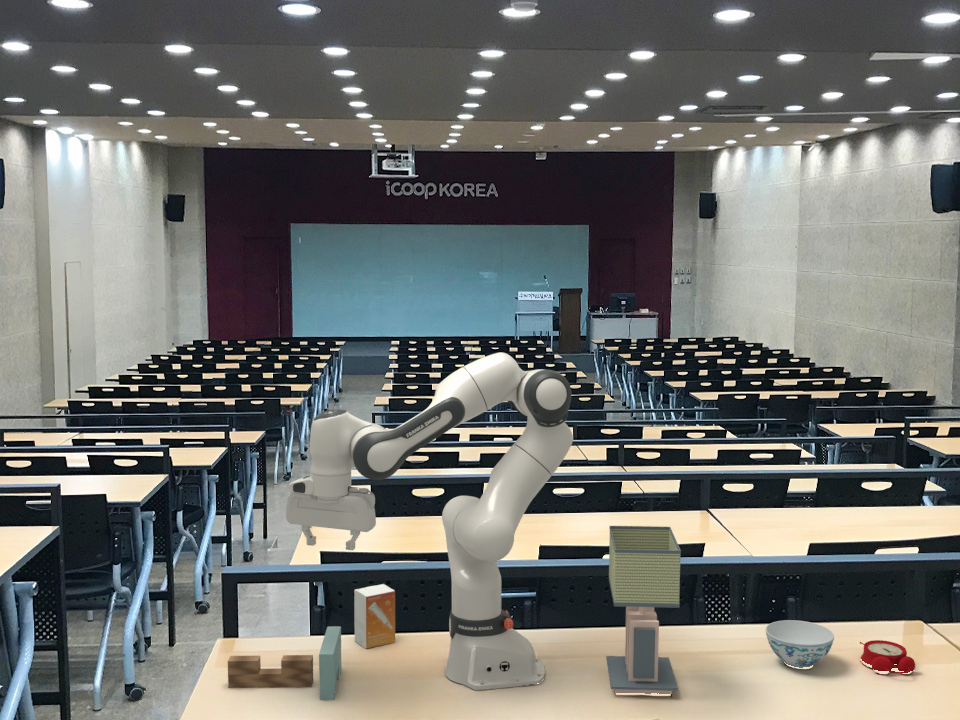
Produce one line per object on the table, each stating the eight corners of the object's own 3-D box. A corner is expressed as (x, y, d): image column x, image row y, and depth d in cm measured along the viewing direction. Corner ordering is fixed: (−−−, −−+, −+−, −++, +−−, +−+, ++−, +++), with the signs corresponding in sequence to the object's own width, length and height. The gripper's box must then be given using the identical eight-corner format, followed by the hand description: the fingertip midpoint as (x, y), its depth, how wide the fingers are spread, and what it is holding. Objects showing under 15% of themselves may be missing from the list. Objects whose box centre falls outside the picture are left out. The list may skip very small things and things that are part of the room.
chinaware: (764, 648, 251) (766, 617, 251) (831, 655, 247) (832, 623, 247) (764, 673, 237) (765, 640, 236) (834, 681, 233) (835, 647, 232)
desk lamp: (605, 664, 242) (608, 525, 238) (668, 666, 241) (671, 526, 237) (611, 699, 223) (613, 549, 220) (678, 701, 223) (682, 550, 219)
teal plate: (341, 668, 239) (340, 626, 238) (333, 699, 223) (333, 654, 222) (328, 669, 239) (327, 626, 238) (319, 699, 223) (318, 654, 222)
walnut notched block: (313, 681, 232) (312, 654, 232) (311, 686, 229) (311, 660, 229) (231, 682, 232) (230, 655, 231) (228, 687, 229) (227, 661, 228)
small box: (366, 649, 250) (365, 596, 249) (354, 641, 256) (353, 589, 254) (396, 642, 255) (395, 590, 253) (383, 634, 260) (383, 583, 259)
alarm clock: (896, 638, 249) (923, 649, 234) (897, 666, 248) (925, 678, 233) (852, 639, 248) (877, 649, 233) (853, 666, 248) (878, 678, 233)
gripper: (380, 485, 228) (380, 548, 229) (296, 477, 234) (296, 538, 236) (368, 492, 222) (368, 556, 223) (282, 483, 228) (282, 546, 230)
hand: (330, 547), depth 230 cm, fingers open, 8 cm apart
